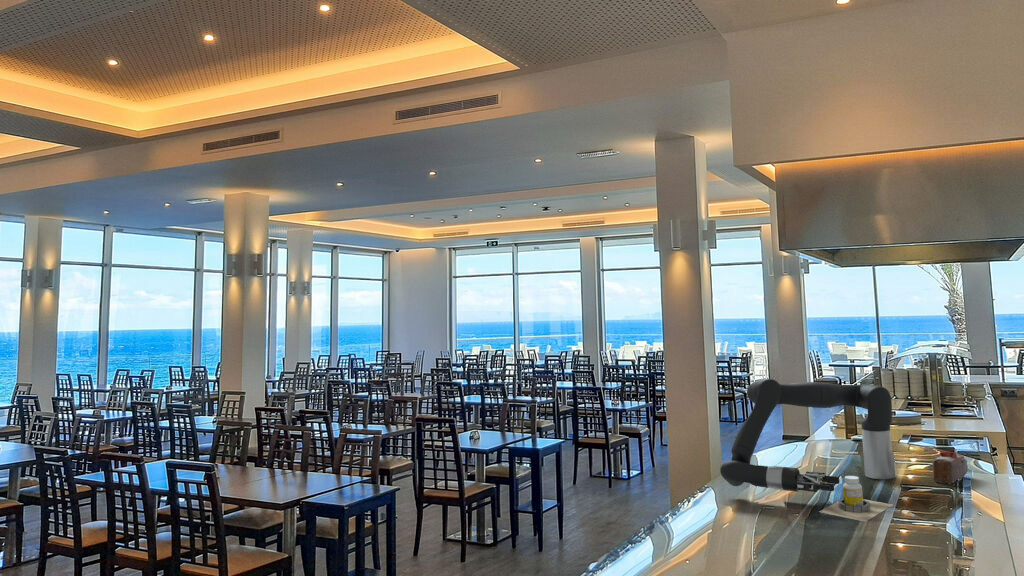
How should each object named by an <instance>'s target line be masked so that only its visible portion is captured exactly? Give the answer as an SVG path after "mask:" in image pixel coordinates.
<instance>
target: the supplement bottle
mask: <svg viewBox="0 0 1024 576" xmlns="http://www.w3.org/2000/svg"><path fill="white" fill-rule="evenodd" d="M844 481H845V482H844V483H843V485H842V492H843V499H844V504H846V505H851V506H863V499H864V496H863V486H862V485H861V483H860V477H859V476H856V475H845V476H844Z"/></svg>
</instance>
